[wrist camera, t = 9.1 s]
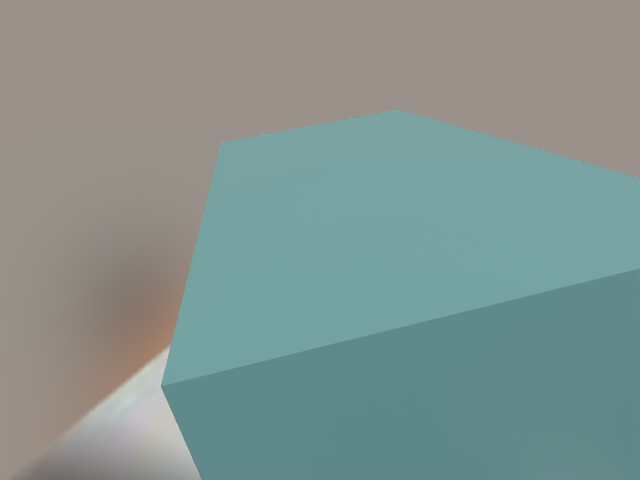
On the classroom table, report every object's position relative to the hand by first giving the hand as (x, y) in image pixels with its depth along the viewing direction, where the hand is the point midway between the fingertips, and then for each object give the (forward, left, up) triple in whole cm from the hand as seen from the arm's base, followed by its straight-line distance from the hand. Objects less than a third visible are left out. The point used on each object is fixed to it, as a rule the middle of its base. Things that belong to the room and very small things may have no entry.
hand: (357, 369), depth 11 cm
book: (0, -2, -10) cm, 10 cm away
